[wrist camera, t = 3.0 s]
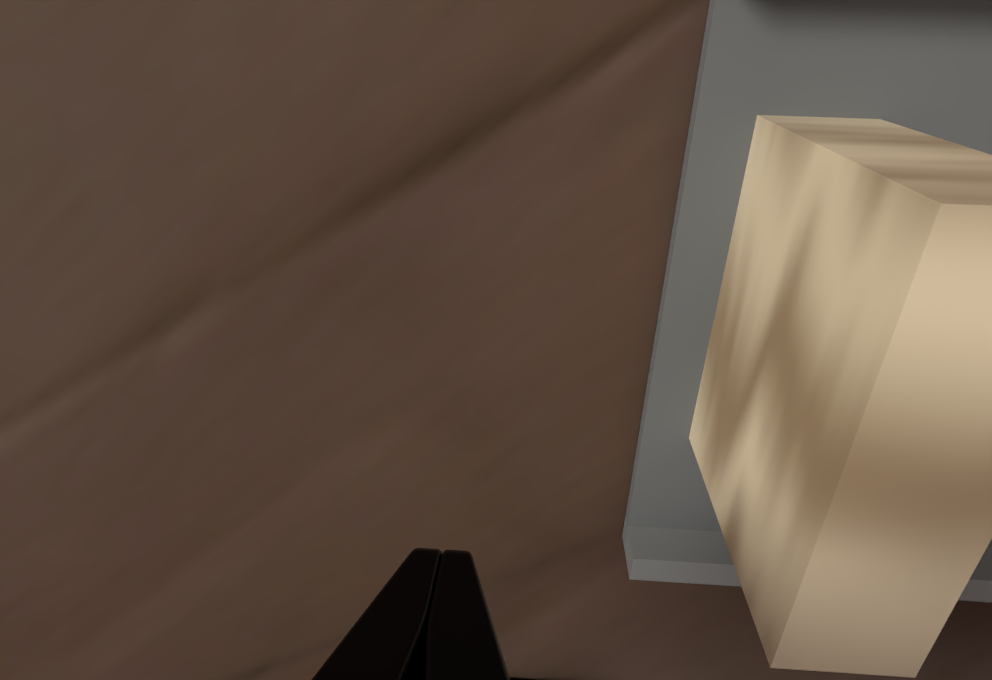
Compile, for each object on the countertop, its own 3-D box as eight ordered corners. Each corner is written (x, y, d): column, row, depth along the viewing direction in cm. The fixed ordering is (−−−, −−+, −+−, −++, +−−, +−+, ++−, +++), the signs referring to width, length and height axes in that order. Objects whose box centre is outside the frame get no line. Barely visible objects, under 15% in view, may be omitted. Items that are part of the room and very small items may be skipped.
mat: (1124, 566, 22) (1174, 613, 21) (622, 535, 23) (629, 579, 21) (1568, -59, 13) (1724, -69, 12) (722, -76, 14) (748, -88, 12)
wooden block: (782, 443, 20) (915, 677, 13) (688, 438, 20) (770, 667, 13) (879, 118, 15) (1171, 212, 8) (757, 114, 15) (942, 203, 8)
